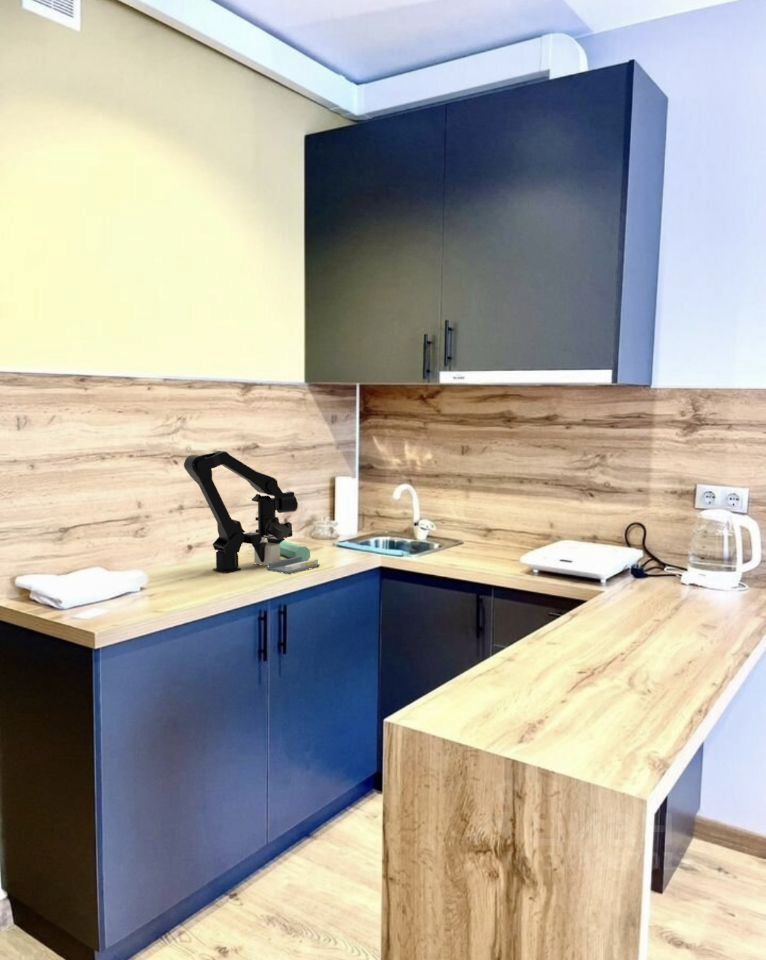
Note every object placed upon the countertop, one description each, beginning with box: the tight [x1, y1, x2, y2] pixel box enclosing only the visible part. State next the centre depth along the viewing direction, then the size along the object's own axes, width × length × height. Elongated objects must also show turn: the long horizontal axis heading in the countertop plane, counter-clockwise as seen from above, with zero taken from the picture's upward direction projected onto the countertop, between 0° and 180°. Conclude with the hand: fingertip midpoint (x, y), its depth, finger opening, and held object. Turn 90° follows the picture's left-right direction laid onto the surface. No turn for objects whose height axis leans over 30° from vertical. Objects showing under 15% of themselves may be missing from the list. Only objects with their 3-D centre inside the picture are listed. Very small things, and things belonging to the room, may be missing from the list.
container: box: [280, 540, 311, 561], centre depth 264 cm, size 6×6×25 cm
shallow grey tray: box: [266, 556, 321, 575], centre depth 244 cm, size 14×10×2 cm
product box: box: [253, 541, 281, 567], centre depth 250 cm, size 4×8×7 cm, turn 53°
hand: (267, 560), depth 250 cm, fingers closed on product box, 4 cm apart
